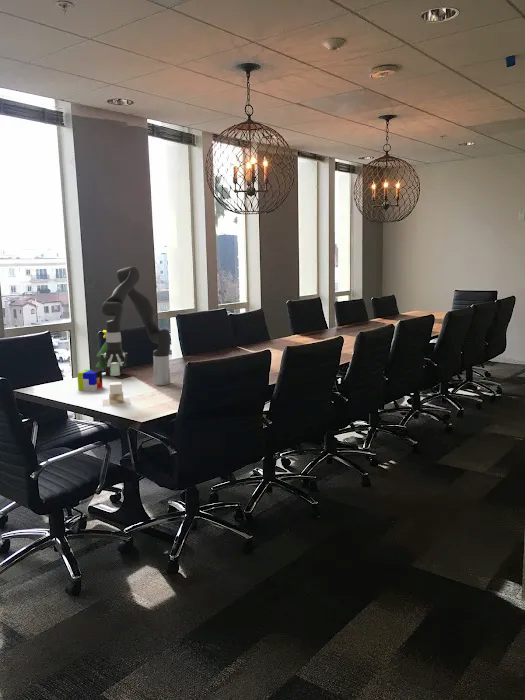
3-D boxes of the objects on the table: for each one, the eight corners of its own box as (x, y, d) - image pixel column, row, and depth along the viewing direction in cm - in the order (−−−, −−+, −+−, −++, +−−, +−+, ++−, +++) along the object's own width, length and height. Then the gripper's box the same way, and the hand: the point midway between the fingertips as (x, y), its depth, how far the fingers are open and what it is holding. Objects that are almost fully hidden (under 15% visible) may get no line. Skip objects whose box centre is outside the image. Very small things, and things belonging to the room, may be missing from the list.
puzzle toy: (94, 390, 337) (93, 373, 335) (78, 390, 339) (77, 372, 337) (102, 386, 347) (101, 370, 345) (86, 386, 349) (85, 369, 347)
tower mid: (121, 391, 313) (121, 381, 312) (122, 393, 307) (121, 384, 307) (109, 391, 311) (109, 382, 311) (110, 394, 306) (109, 384, 305)
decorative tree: (95, 378, 368) (93, 330, 363) (96, 372, 387) (94, 326, 382) (127, 377, 372) (125, 329, 367) (126, 371, 391) (125, 326, 386)
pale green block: (119, 373, 311) (119, 362, 310) (120, 375, 306) (119, 364, 305) (110, 374, 310) (109, 362, 309) (110, 375, 305) (109, 364, 304)
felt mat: (129, 398, 319) (129, 397, 319) (131, 405, 306) (131, 404, 306) (102, 400, 315) (102, 399, 315) (102, 407, 302) (102, 406, 302)
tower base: (122, 399, 315) (122, 390, 314) (123, 403, 308) (123, 393, 307) (109, 400, 313) (108, 391, 312) (109, 404, 306) (109, 394, 305)
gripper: (127, 339, 310) (128, 370, 313) (99, 340, 307) (100, 372, 309) (128, 341, 303) (129, 373, 306) (99, 342, 299) (100, 375, 302)
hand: (115, 372), depth 308 cm, fingers closed on pale green block, 5 cm apart
